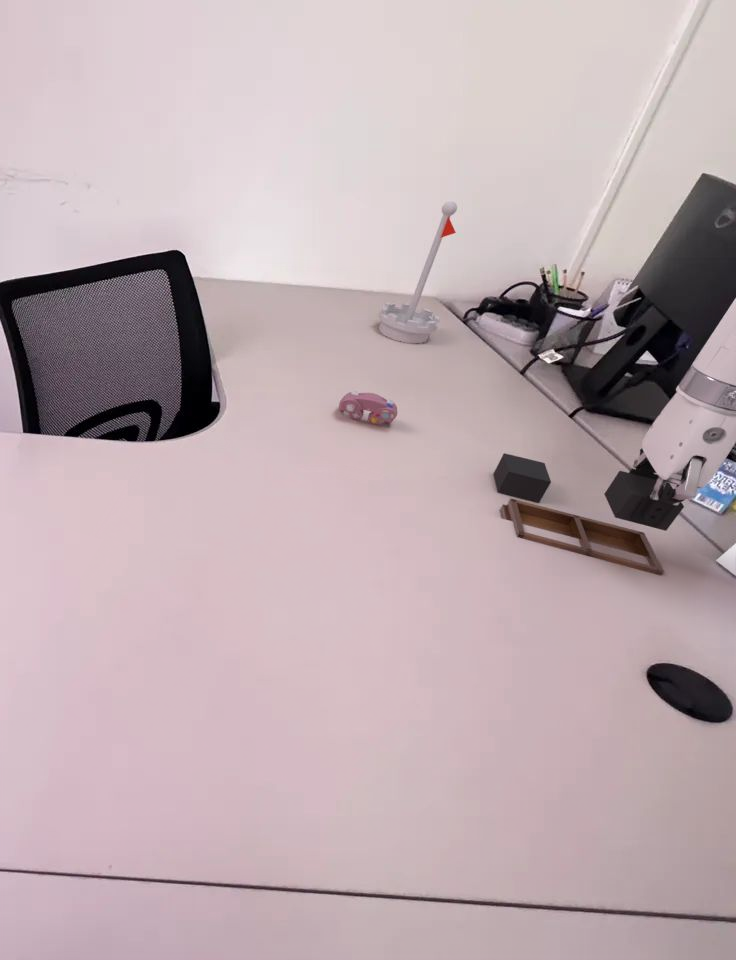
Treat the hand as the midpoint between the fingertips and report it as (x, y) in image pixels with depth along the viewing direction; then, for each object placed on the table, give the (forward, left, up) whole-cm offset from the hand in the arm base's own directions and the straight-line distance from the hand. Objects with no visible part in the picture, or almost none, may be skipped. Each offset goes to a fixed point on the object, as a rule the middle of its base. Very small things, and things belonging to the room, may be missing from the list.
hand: (636, 508), depth 90 cm
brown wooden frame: (+4, 0, -8) cm, 9 cm away
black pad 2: (0, 0, -1) cm, 1 cm away
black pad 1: (+10, -13, -8) cm, 18 cm away
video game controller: (+34, -24, -8) cm, 42 cm away
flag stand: (+27, -75, -8) cm, 80 cm away
